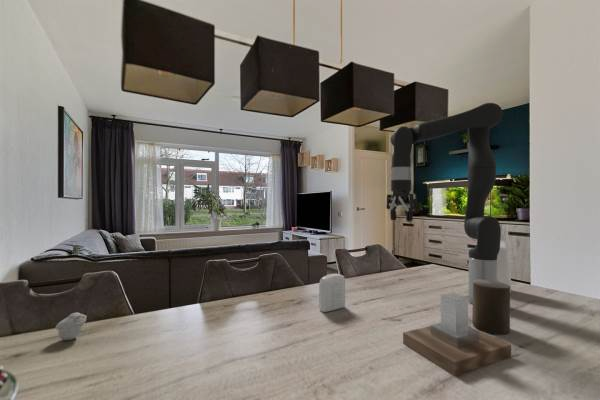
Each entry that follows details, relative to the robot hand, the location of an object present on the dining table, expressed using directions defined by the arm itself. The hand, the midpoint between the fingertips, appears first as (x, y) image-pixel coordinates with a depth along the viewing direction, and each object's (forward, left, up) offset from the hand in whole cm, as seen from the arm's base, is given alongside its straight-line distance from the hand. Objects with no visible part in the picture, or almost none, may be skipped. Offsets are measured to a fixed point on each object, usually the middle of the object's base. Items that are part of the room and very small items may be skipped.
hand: (401, 220), depth 114 cm
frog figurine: (+108, -12, -31) cm, 113 cm away
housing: (+14, +35, -28) cm, 47 cm away
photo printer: (+29, -3, -31) cm, 43 cm away
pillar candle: (-8, +30, -31) cm, 44 cm away
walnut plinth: (+14, +35, -31) cm, 49 cm away
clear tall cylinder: (-46, +6, -31) cm, 56 cm away
